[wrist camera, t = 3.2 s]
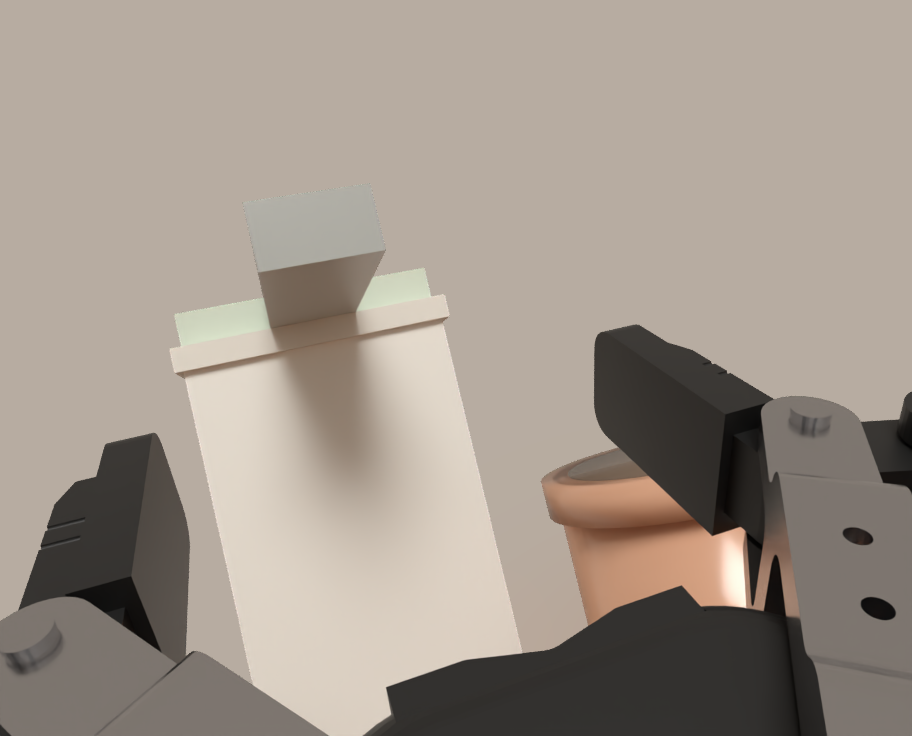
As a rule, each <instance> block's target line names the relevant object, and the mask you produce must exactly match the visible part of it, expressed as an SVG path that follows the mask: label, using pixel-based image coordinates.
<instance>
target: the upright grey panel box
mask: <svg viewBox="0 0 912 736" xmlns="http://www.w3.org/2000/svg"><path fill="white" fill-rule="evenodd" d="M449 316H450V315H449V311H448V306H447V302H446V298H445V294H443V295H438V296H433V297H428V298H423V299H418V300H413V301H408V302H403V303H398V304H392V305H387V306H382V307H377V308H372V309H367V310H362V311H357V312H352V313H347V314H342V315H337V316H332V317H327V318H322V319H317V320H312V321H307V322H302V323H297V324H292V325H287V326H282V327H276V328H271V329H266V330H261V331H256V332H251V333H246V334H241V335H236V336H231V337H226V338H221V339H216V340H211V341H206V342H201V343H196V344H191V345H186V346H181V347H176V348H171V349H169V351H170V355H171V359H172V364H173V369H174V373H175V374H177V375H179V376H181V377H182V378H184V379H185V381H186V386H187V390H188V395H189V399H190V403H191V408H192V413H193V417H194V422H195V426H196V430H197V435H198V440H199V444H200V449H201V453H202V458H203V462H204V467H205V471H206V476H207V480H208V485H209V489H210V494H211V498H212V503H213V507H214V512H215V516H216V521H217V525H218V530H219V534H220V539H221V543H222V548H223V552H224V557H225V562H226V566H227V570H228V575H229V580H230V584H231V588H232V593H233V598H234V601H235V607H236V611H237V616H238V620H239V625H240V629H241V634H242V638H243V643H244V647H245V652H246V656H247V661H248V665H249V670H250V674H251V678H252V683H253V686H255V687H256V688H258V689H259V690H261V691H262V692H264V693H266V694H267V695H269V696H270V697H272V698H273V699H275V700H276V701H278V702H279V703H281V704H282V705H284V706H285V707H287V708H288V709H290V710H291V711H293V712H294V713H296V714H297V715H299V716H300V717H302V718H303V719H305V720H306V721H308V722H309V723H311V724H312V725H314V726H315V727H317V728H318V729H320V730H321V731H323V732H324V733H326V734H327V735H329V736H363V735H364V734H365V733H367V732H368V731H369V730H370V729H371V728H373V727H374V726H375V725H376V724H378V723H379V722H381V721H382V720H384V719H385V718H387V717H388V716H390V715H391V711H390V706H389V701H388V696H387V691H386V687H388V686H391V685H394V684H397V683H399V682H402V681H405V680H408V679H411V678H414V677H417V676H420V675H423V674H426V673H428V672H431V671H434V670H437V669H440V668H443V667H446V666H449V665H452V664H455V663H457V662H460V661H463V660H468V659H476V658H485V657H494V656H503V655H512V654H520V653H522V649H521V645H520V641H519V636H518V632H517V628H516V624H515V620H514V616H513V611H512V608H511V603H510V599H509V595H508V591H507V587H506V582H505V578H504V574H503V570H502V566H501V562H500V558H499V553H498V549H497V545H496V541H495V537H494V533H493V529H492V524H491V520H490V516H489V513H488V508H487V503H486V499H485V496H484V491H483V487H482V483H481V479H480V474H479V470H478V466H477V462H476V458H475V454H474V450H473V445H472V441H471V437H470V433H469V429H468V425H467V421H466V416H465V412H464V408H463V404H462V400H461V396H460V391H459V387H458V383H457V380H456V375H455V371H454V366H453V363H452V358H451V354H450V350H449V346H448V342H447V337H446V333H445V329H444V325H443V321H444V320H445V319H447V318H448V317H449Z"/></svg>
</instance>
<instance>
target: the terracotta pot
mask: <svg viewBox="0 0 912 736" xmlns="http://www.w3.org/2000/svg"><path fill="white" fill-rule="evenodd" d="M541 483H542V487H543V491H544V495H545V499H546V503H547V508H548V512H549V516H550V518H551V519H552V520H553V521H554V522H556V523H559V524H562V525H564V529H565V533H566V537H567V541H568V544H569V549H570V553H571V557H572V561H573V565H574V569H575V573H576V578H577V582H578V586H579V590H580V594H581V597H582V602H583V606H584V610H585V614H586V618H587V622H588V626H589V625H591V624H592V623H594V622H595V621H597V620H598V619H600V618H601V617H603V616H604V615H606V614H607V613H609V612H610V611H612V610H613V609H615V608H617V607H620V606H623V605H626V604H628V603H631V602H634V601H637V600H640V599H643V598H646V597H649V596H652V595H655V594H657V593H660V592H663V591H666V590H669V589H672V588H675V587H678V586H681V585H682V586H683V587H684V588H685V589H686V590H687V592H688V593H689V594H690V595H691V596H692V597H693V598H694V599H695V600H696V602H697V603H698V604H699V605H700V606H734V607H745V608H746V595H745V578H744V562H743V542H744V535H745V530H744V529H742V528H741V527H739V528H736V529H733V530H730V531H727V532H724V533H720V534H717V535H714V536H711V535H710V534H709V533H708V532H707V531H706V530H705V529H704V528H703V527H702V526H701V525H700V524H699V523H698V522H697V521H696V520H695V519H694V518H692V517H691V516H690V515H689V514H688V513H687V512H686V511H685V510H684V509H683V508H682V507H681V506H680V505H679V504H678V503H677V502H676V501H675V500H673V499H672V498H671V497H670V496H669V495H668V494H667V493H666V492H665V491H664V490H663V489H662V488H661V487H660V486H659V485H658V484H657V483H656V482H655V481H653V480H652V479H651V478H650V477H649V476H648V475H647V474H646V473H645V472H644V471H643V470H642V469H641V468H640V467H639V466H638V465H637V464H636V463H634V462H633V461H632V460H631V459H630V458H629V457H628V456H627V455H626V454H625V453H624V452H623V451H622V450H621V449H620V448H615V449H612V450H609V451H605V452H601V453H598V454H595V455H592V456H589V457H586V458H583V459H580V460H577V461H574V462H572V463H569V464H567V465H564V466H562V467H560V468H558V469H556V470H554V471H552V472H550V473H549V474H547V475H546V476H544V477H543V478H542V481H541Z"/></svg>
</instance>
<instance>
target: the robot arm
mask: <svg viewBox="0 0 912 736" xmlns="http://www.w3.org/2000/svg"><path fill="white" fill-rule="evenodd" d="M594 357H595V358H594V360H595V361H594V370H595V371H594V408H595V413H596V417H597V420H598V423H599V426H600V428H601V429H602V431H603V432H604V434H605V435H606V436H607V437H608V438H609V439H610V440H611V441H612V442H613V443H614V444H616V445H617V446H618V447H619V448H620V449H621V450H622V451H623V452H624V453H625V454H626V455H627V456H628V457H629V458H630V459H631V460H632V461H633V462H634V463H636V464H637V465H638V466H639V467H640V468H641V469H642V470H643V471H644V472H645V473H646V474H647V475H648V476H649V477H650V478H651V479H652V480H653V481H655V482H656V483H657V484H658V485H659V486H660V487H661V488H662V489H663V490H664V491H665V492H666V493H667V494H668V495H669V496H670V497H671V498H672V499H673V500H675V501H676V502H677V503H678V504H679V505H680V506H681V507H682V508H683V509H684V510H685V511H686V512H687V513H688V514H689V515H690V516H691V517H692V518H694V519H695V520H696V521H697V522H698V523H699V524H700V525H701V526H702V527H703V528H704V529H705V530H706V531H707V532H708V533H709V534H710V535H711V536H714V535H717V534H720V533H724V532H727V531H730V530H733V529H736V528H739V527H741V528H742V529H744V530H745V535H744V542H743V562H744V578H745V595H746V608H745V607H734V606H700V605H699V604H698V603H697V602H696V600H695V599H694V598H693V597H692V596H691V595H690V594H689V593H688V592H687V590H686V589H685V588H684V587H683V586H682V585H681V586H678V587H675V588H672V589H669V590H666V591H663V592H660V593H657V594H655V595H652V596H649V597H646V598H643V599H640V600H637V601H634V602H631V603H628V604H626V605H623V606H620V607H617V608H615V609H613V610H612V611H610V612H609V613H607V614H606V615H604V616H603V617H601V618H600V619H598V620H597V621H595V622H594V623H592V624H591V625H589V626H588V627H586V628H585V629H583V630H582V631H580V632H579V633H577V634H576V635H574V636H573V637H571V638H570V639H568V640H566V641H565V642H563V643H562V644H560V645H559V646H557V647H555V648H553V649H550V650H545V651H538V652H529V653H520V654H512V655H503V656H494V657H485V658H476V659H468V660H463V661H460V662H457V663H455V664H452V665H449V666H446V667H443V668H440V669H437V670H434V671H431V672H428V673H426V674H423V675H420V676H417V677H414V678H411V679H408V680H405V681H402V682H399V683H397V684H394V685H391V686H388V687H386V691H387V696H388V701H389V706H390V711H391V715H390V716H388V717H387V718H385V719H384V720H382V721H381V722H379V723H378V724H376V725H375V726H374V727H373V728H371V729H370V730H369V731H368V732H367V733H365V734H364V735H363V736H912V392H910V393H909V394H907V395H906V397H905V399H904V403H903V407H902V411H901V415H900V419H899V420H884V421H868V422H860V420H859V418H858V417H857V416H856V415H855V414H854V413H853V412H851V411H850V410H849V409H847V408H845V407H843V406H841V405H839V404H836V403H834V402H831V401H827V400H823V399H819V398H813V397H805V396H789V397H781V398H777V399H773V398H771V397H769V396H767V395H766V394H764V393H763V392H761V391H759V390H758V389H756V388H754V387H753V386H751V385H749V384H748V383H746V382H744V381H743V380H741V379H739V378H738V377H736V376H734V375H733V374H731V373H729V374H727V371H726V370H725V369H723V368H721V367H719V366H718V365H716V364H712V363H711V361H710V360H708V359H706V358H705V357H703V356H701V355H700V354H698V353H696V352H695V351H693V350H690V349H687V348H684V347H680V346H677V345H673V344H670V343H667V342H666V341H664V340H663V339H661V338H659V337H658V336H656V335H654V334H653V333H651V332H650V331H648V330H646V329H644V328H643V327H641V326H640V325H631V326H627V327H622V328H618V329H613V330H609V331H605V332H601V333H600V334H598V336H597V337H596V341H595V353H594ZM47 528H48V531H45V534H44V537H43V540H42V543H41V550H39V552H38V554H37V557H36V560H35V563H34V566H33V569H32V572H31V575H30V578H29V581H28V583H27V586H26V589H25V592H24V595H23V598H22V601H21V604H20V607H19V610H18V611H17V612H14V613H13V614H11V615H10V616H8V617H6V618H5V619H3V620H1V621H0V736H329V735H327V734H326V733H324V732H323V731H321V730H320V729H318V728H317V727H315V726H314V725H312V724H311V723H309V722H308V721H306V720H305V719H303V718H302V717H300V716H299V715H297V714H296V713H294V712H293V711H291V710H290V709H288V708H287V707H285V706H284V705H282V704H281V703H279V702H278V701H276V700H275V699H273V698H272V697H270V696H269V695H267V694H266V693H264V692H262V691H261V690H259V689H258V688H256V687H255V686H253V685H252V684H250V683H249V682H247V681H246V680H244V679H243V678H241V677H240V676H238V675H237V674H235V673H234V672H232V671H231V670H229V669H228V668H226V667H225V666H223V665H222V664H220V663H219V662H217V661H216V660H214V659H213V658H211V657H209V656H208V655H206V654H204V653H201V652H198V651H193V652H191V653H189V654H188V655H187V656H186V632H187V605H188V579H189V553H190V542H189V532H188V526H187V521H186V517H185V513H184V510H183V506H182V504H181V501H180V497H179V494H178V492H177V489H176V486H175V483H174V480H173V477H172V474H171V471H170V468H169V465H168V462H167V459H166V456H165V453H164V450H163V447H162V444H161V442H160V439H159V437H158V436H157V434H156V433H151V434H147V435H143V436H138V437H134V438H129V439H125V440H120V441H116V442H111V443H107V444H106V445H105V447H104V450H103V454H102V458H101V461H100V465H99V469H98V472H97V476H96V477H94V478H90V479H85V480H81V481H77V482H75V483H74V484H73V485H72V486H71V487H70V489H69V490H68V491H67V492H66V493H65V494H64V495H63V496H62V497H61V498H60V499H59V500H58V502H56V504H55V505H54V508H53V511H52V514H51V517H50V520H49V523H48V525H47Z"/></svg>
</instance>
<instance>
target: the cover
mask: <svg viewBox="0 0 912 736" xmlns="http://www.w3.org/2000/svg"><path fill="white" fill-rule="evenodd" d="M243 207H244V212H245V216H246V220H247V225H248V229H249V234H250V239H251V243H252V248H253V253H254V257H255V262H256V266H257V270H258V275H259V280H260V285H261V289H262V293H263V298H259V299H254V300H248V301H243V302H238V303H233V304H227V305H222V306H216V307H211V308H206V309H201V310H195V311H190V312H184V313H179V314H174V317H175V321H176V326H177V330H178V335H179V339H180V344H181V346H186V345H191V344H196V343H201V342H206V341H211V340H216V339H221V338H226V337H231V336H236V335H241V334H246V333H251V332H256V331H261V330H266V329H271V328H276V327H282V326H287V325H292V324H297V323H302V322H307V321H312V320H317V319H322V318H327V317H332V316H337V315H342V314H347V313H352V312H357V311H362V310H367V309H372V308H377V307H382V306H387V305H392V304H398V303H403V302H408V301H413V300H418V299H423V298H428V297H431V294H430V290H429V286H428V281H427V278H426V273H425V269H424V268H420V269H415V270H410V271H404V272H399V273H394V274H388V275H383V276H377V277H373V276H374V273H375V271H376V269H377V267H378V265H379V263H380V261H381V259H382V257H383V255H384V253H385V251H386V249H385V244H384V240H383V236H382V232H381V228H380V223H379V219H378V215H377V210H376V206H375V202H374V198H373V194H372V189H371V185H370V183H369V184H362V185H356V186H349V187H343V188H335V189H329V190H322V191H316V192H310V193H302V194H296V195H289V196H282V197H276V198H270V199H263V200H256V201H249V202H243Z"/></svg>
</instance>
